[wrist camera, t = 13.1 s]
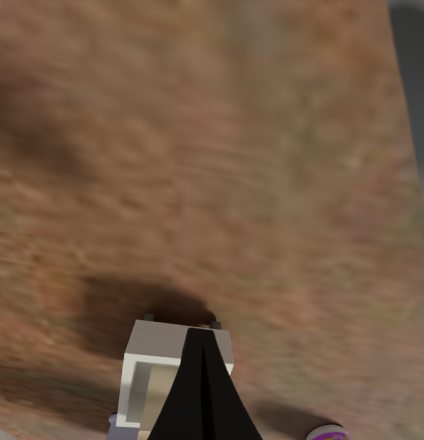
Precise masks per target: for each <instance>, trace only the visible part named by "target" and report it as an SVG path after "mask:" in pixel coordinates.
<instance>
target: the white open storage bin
mask: <svg viewBox="0 0 424 440" xmlns="http://www.w3.org/2000/svg"><path fill="white" fill-rule="evenodd" d="M153 320H154V314H152V313H145V315H144V318H143V320H136V322H135V325H134V327H133V330H132V333H131V336H130V339H129V342H128V345H127V348H126V350H125V354H124V362H123V371H122V379H121V388H120V396H119V405H118V413H117V421H116V426H118V427H136V428H140V423H141V418H142V413H143V408H144V404H145V399H146V394H147V389H148V384H149V379H150V374H151V370H152V366H162V367H173V368H179V365H180V361H181V354H182V350H183V346H184V342H185V338H186V334H187V330H188V328H190V327H192V326H184V325H176V324H168V323H160V322H153ZM192 328H200V327H192ZM200 329H208V328H200ZM208 330H213V331H214V333H215V337H216V340H217V343H218V346H219V349H220V352H221V355H222V358H223V360H224V363H225V365H226V368H227V370H228V373H229V375H230V373H231V371H232V368H233V366H234V361H233V355H232V348H231V342H230V335H229V331H224V330H222V329H221V323H220V322H214V321H211V323H210V327H209V329H208Z"/></svg>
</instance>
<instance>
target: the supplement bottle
mask: <svg viewBox="0 0 424 440" xmlns="http://www.w3.org/2000/svg"><path fill="white" fill-rule="evenodd" d="M306 440H351V438H350V436H349V434H348V433H347V431H346V430H345V429H344V428H342V427H340V426H337V425H324V426H320V427H318V428H316V429H314V430H313V431H311V432H310V433H309V434H308V436H307V438H306Z"/></svg>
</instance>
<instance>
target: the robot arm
mask: <svg viewBox="0 0 424 440" xmlns="http://www.w3.org/2000/svg"><path fill="white" fill-rule="evenodd" d="M116 421H117V414H114V415H111V416H109V422H110V423H111V425H110V428H109V432H108V435H107V438H106V440H137V438H138V433H139V428H136V427H118V426H116ZM147 440H263V439H262V437H261V436H260V434H259V433H258V431H257V429H256V427H255V425H254V424H253V422H252V420H251V418H250V417H249V415H248V413H247V411H246V409H245V407H244V405H243V403H242V401H241V399H240V397H239V395H238V393H237V391H236V389H235V387H234V384H233V382H232V380H231V378H230V375H229V373H228V370H227V368H226V365H225V363H224V360H223V358H222V355H221V352H220V349H219V346H218V343H217V340H216V337H215V333H214V331H213V330H208V329H200V328H192V327H190V328H188V330H187V334H186V338H185V342H184V346H183V350H182V354H181V361H180V365H179V368H178V371H177V374H176V376H175V379H174V381H173V384H172V387H171V389H170V391H169V394H168V396H167V399H166V401H165V403H164V405H163V407H162V410H161V412H160V414H159V416H158V418H157V420H156V422H155V424H154V427H153V429H152V431H151V433H150V435H149V437H148V439H147Z"/></svg>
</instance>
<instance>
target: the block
mask: <svg viewBox="0 0 424 440" xmlns="http://www.w3.org/2000/svg"><path fill="white" fill-rule="evenodd" d="M177 371H178V368H173V367H162V366H152V370H151V374H150V379H149V384H148V389H147V394H146V399H145V404H144V408H143V413H142V418H141V423H140V428H139V433H138V438H137V440H147V439H148V437H149V435H150V433H151V431H152V429H153V427H154V424H155V422H156V420H157V418H158V416H159V414H160V412H161V410H162V407H163V405H164V403H165V401H166V399H167V396H168V394H169V391H170V389H171V387H172V384H173V381H174V379H175V376H176V374H177Z"/></svg>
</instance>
